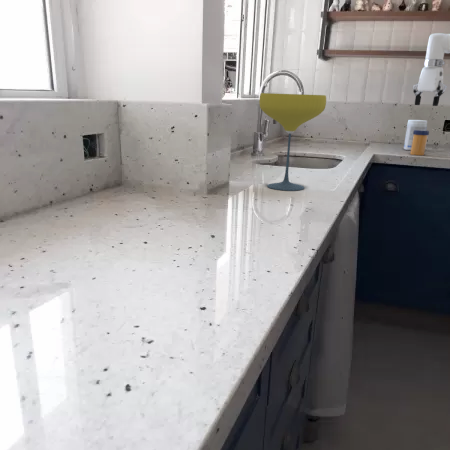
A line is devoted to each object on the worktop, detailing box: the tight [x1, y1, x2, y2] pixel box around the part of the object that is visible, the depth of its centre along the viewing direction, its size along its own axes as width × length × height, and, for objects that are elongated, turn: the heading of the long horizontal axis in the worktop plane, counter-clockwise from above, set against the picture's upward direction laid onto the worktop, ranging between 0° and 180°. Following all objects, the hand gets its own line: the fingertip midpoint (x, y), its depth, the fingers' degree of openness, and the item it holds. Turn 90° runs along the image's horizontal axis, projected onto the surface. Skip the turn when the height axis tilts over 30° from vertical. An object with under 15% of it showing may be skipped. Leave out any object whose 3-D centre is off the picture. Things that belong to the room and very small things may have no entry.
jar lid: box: [413, 129, 430, 136], centre depth 230 cm, size 7×7×2 cm
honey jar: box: [409, 134, 429, 156], centre depth 231 cm, size 6×6×11 cm
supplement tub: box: [403, 119, 428, 151], centre depth 250 cm, size 10×10×15 cm
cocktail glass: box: [258, 92, 327, 192], centre depth 136 cm, size 18×18×25 cm
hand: (425, 105), depth 225 cm, fingers open, 9 cm apart
